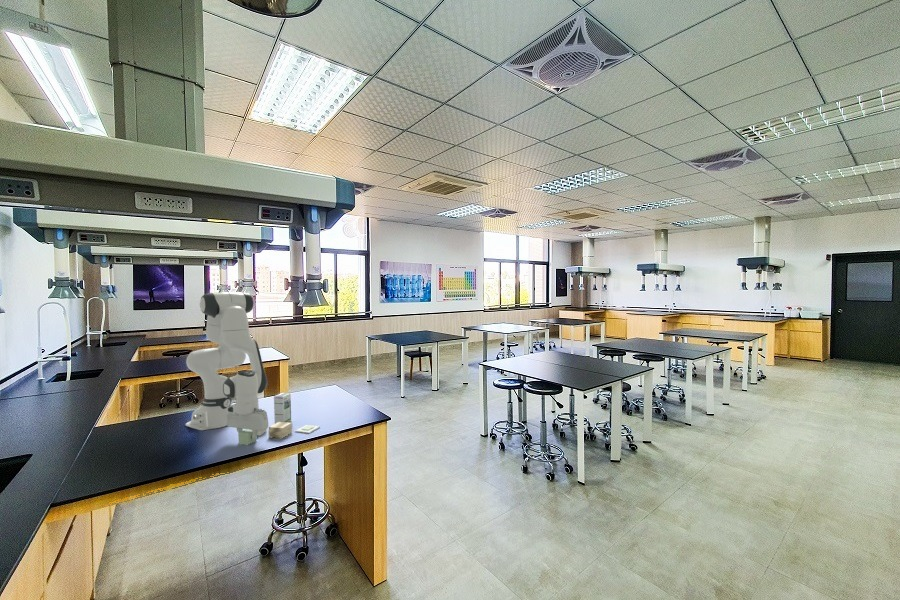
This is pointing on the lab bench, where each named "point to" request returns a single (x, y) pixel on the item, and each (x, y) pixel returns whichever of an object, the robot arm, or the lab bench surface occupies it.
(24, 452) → the lab bench surface
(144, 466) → the lab bench surface
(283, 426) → the birch base block
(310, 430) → the tile
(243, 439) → the sage block
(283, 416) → the syrup box
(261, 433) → the off-white block
